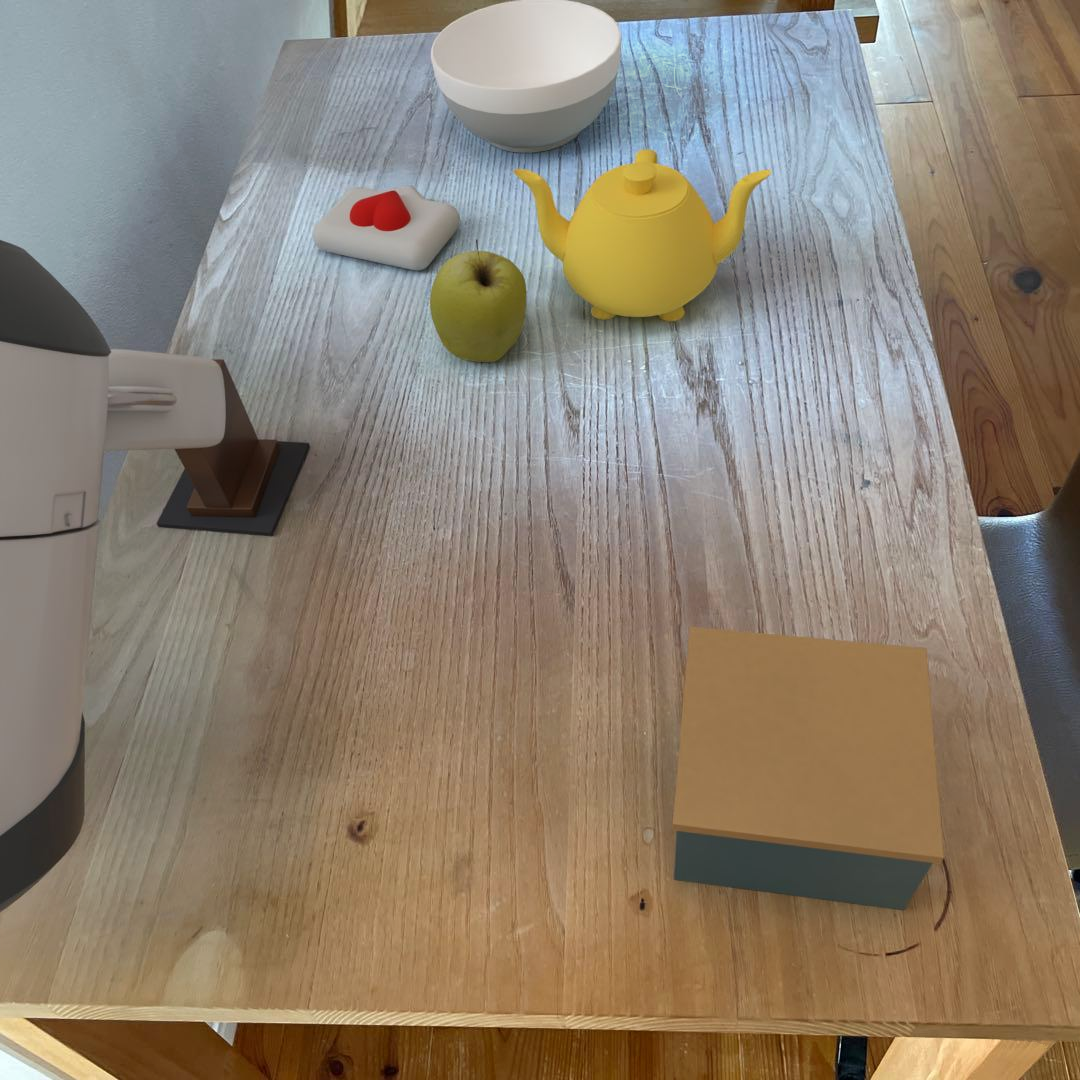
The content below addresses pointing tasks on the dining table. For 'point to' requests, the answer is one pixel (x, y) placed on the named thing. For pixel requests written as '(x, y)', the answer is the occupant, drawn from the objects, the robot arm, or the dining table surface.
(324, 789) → the dining table surface
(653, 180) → the teapot
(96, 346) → the robot arm
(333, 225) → the icon
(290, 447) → the mat
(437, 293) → the apple
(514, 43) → the bowl
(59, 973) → the dining table surface
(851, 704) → the toy box
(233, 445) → the brown upright sign stand
